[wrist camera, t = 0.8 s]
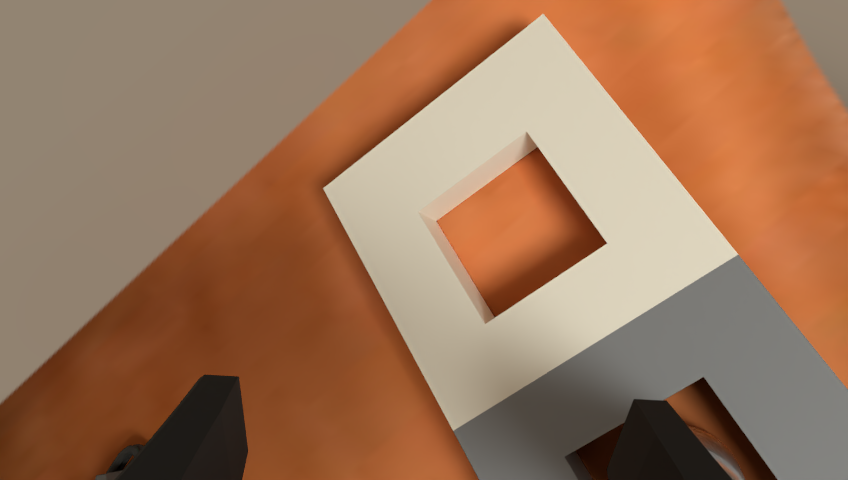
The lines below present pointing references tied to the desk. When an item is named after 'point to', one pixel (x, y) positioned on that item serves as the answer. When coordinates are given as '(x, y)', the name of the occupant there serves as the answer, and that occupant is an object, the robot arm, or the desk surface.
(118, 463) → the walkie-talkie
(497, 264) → the desk surface
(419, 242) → the dock board
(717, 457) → the steel peg
